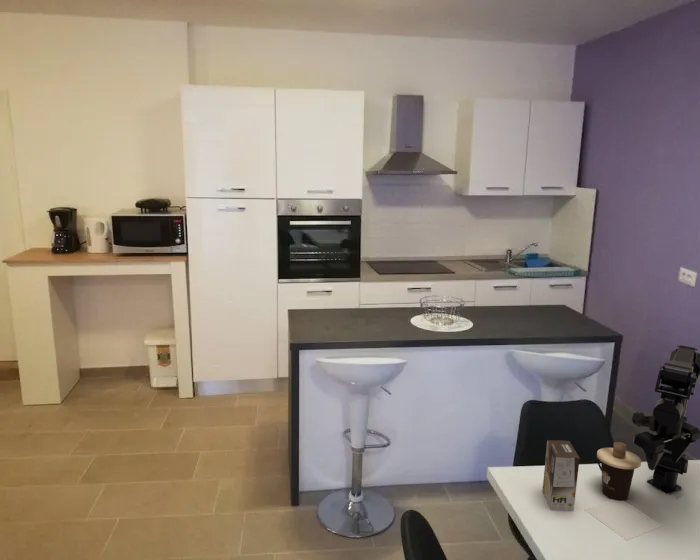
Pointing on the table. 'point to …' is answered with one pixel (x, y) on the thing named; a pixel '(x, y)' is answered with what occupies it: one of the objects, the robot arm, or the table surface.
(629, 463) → the lid
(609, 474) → the coffee mug
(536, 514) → the table surface
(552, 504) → the coffee box
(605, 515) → the mat
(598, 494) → the table surface
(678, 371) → the robot arm
